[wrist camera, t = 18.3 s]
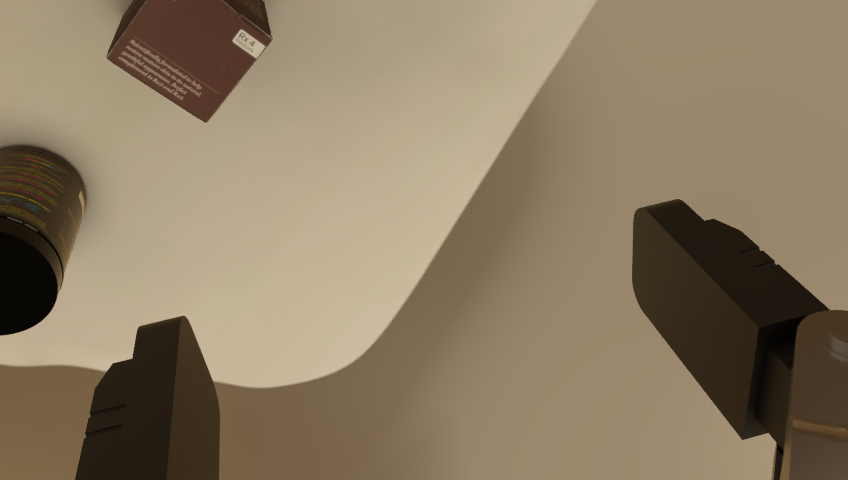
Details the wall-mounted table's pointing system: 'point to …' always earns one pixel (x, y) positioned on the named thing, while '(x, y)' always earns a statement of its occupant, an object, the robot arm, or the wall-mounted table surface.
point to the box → (191, 48)
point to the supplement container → (35, 233)
